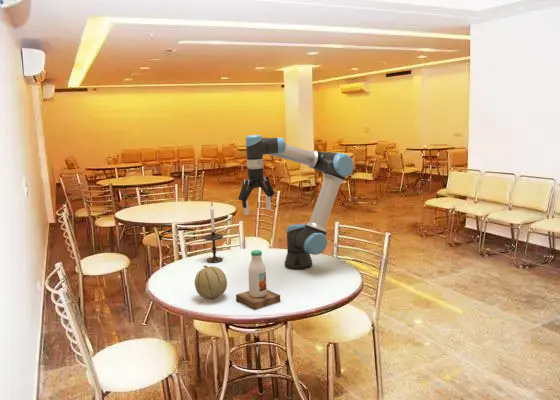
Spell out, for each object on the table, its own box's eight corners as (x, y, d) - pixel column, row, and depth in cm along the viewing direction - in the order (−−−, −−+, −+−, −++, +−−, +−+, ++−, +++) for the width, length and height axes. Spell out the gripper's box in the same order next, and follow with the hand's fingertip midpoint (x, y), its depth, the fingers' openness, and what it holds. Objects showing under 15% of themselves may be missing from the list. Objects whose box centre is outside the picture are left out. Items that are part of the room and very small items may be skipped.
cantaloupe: (222, 304, 216) (220, 271, 213) (190, 303, 219) (188, 270, 216) (231, 292, 230) (230, 261, 228) (201, 291, 233) (199, 261, 230)
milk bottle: (253, 299, 213) (251, 254, 210) (246, 293, 220) (244, 250, 216) (269, 295, 216) (268, 251, 213) (262, 290, 223) (260, 247, 220)
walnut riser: (261, 293, 228) (261, 287, 228) (280, 301, 217) (280, 295, 217) (236, 301, 220) (235, 294, 219) (254, 310, 209) (254, 303, 208)
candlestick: (208, 257, 289) (204, 199, 283) (226, 258, 287) (223, 198, 281) (202, 263, 278) (199, 202, 272) (221, 263, 277) (218, 202, 271)
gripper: (238, 171, 222) (241, 217, 226) (280, 165, 238) (282, 208, 242) (229, 170, 228) (232, 215, 232) (270, 164, 244) (272, 206, 248)
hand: (257, 212), depth 237 cm, fingers open, 13 cm apart
